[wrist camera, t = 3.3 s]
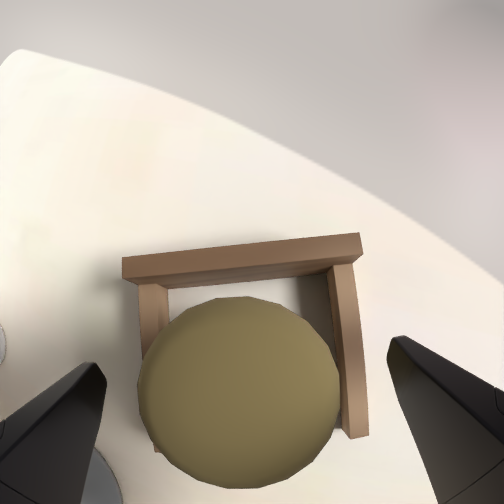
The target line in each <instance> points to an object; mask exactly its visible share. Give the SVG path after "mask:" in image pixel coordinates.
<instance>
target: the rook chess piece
mask: <svg viewBox="0 0 504 504" xmlns="http://www.w3.org/2000/svg"><path fill="white" fill-rule="evenodd" d="M5 352H6V339H5V335H4V331H3V329H2V327H1V325H0V364H1V363H2V361H3V359H4V357H5Z"/></svg>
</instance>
